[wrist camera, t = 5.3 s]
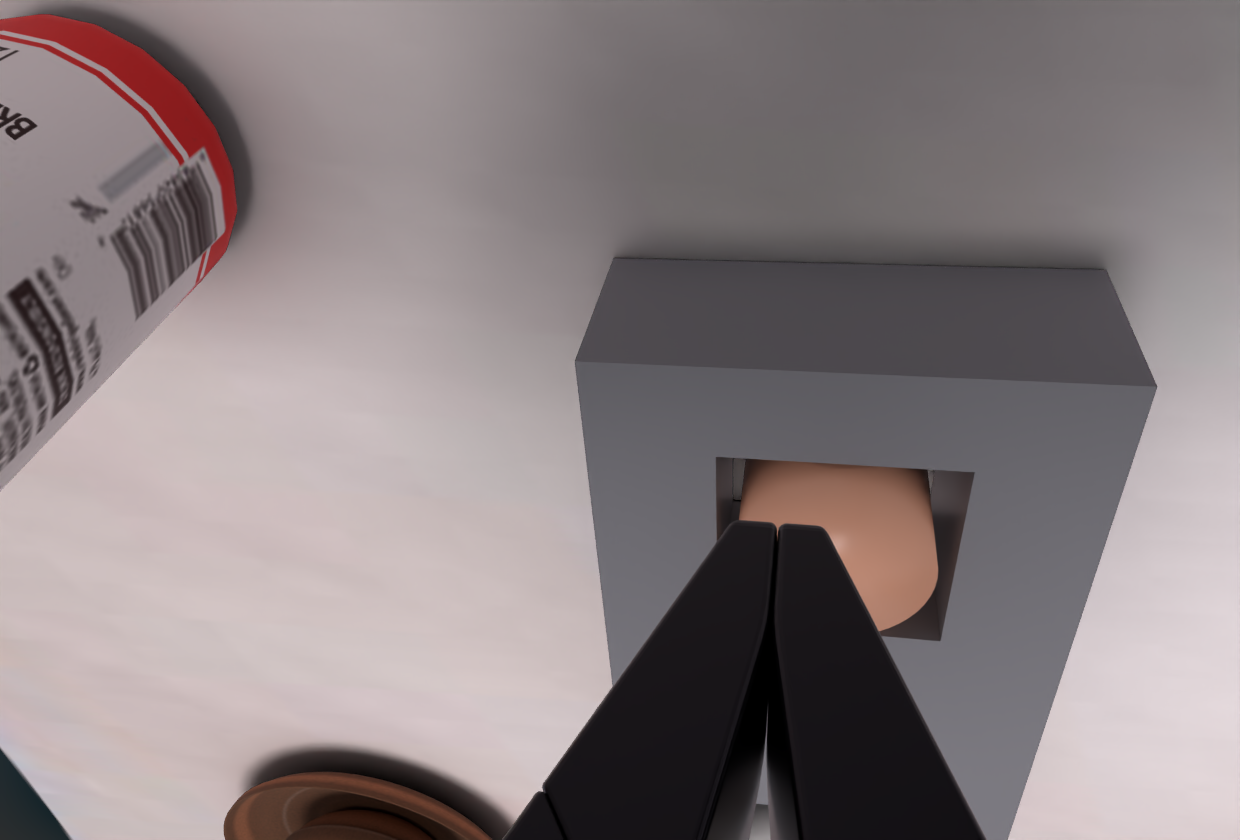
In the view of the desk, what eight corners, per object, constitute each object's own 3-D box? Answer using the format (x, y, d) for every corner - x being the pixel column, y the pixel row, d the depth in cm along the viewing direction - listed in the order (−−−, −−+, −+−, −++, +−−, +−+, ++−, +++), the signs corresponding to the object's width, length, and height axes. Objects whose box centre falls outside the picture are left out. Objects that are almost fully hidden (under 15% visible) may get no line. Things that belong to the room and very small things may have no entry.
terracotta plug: (936, 392, 21) (951, 503, 18) (914, 528, 23) (925, 644, 20) (747, 384, 21) (733, 489, 19) (745, 516, 24) (733, 627, 21)
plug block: (1105, 269, 19) (1156, 386, 16) (956, 832, 32) (968, 957, 29) (613, 258, 21) (574, 361, 18) (656, 794, 34) (638, 909, 31)
